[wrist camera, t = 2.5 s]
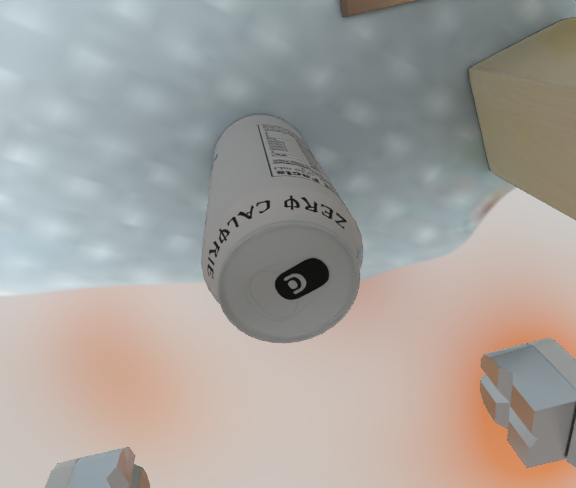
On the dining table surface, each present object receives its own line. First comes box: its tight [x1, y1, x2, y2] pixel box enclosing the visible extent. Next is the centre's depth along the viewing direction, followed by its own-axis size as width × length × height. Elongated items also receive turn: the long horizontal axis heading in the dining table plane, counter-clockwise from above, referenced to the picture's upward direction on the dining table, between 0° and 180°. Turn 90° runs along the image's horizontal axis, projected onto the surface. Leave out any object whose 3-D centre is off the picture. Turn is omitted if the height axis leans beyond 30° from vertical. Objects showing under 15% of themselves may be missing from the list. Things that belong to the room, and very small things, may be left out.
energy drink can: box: [201, 114, 363, 343], centre depth 20 cm, size 6×6×15 cm
